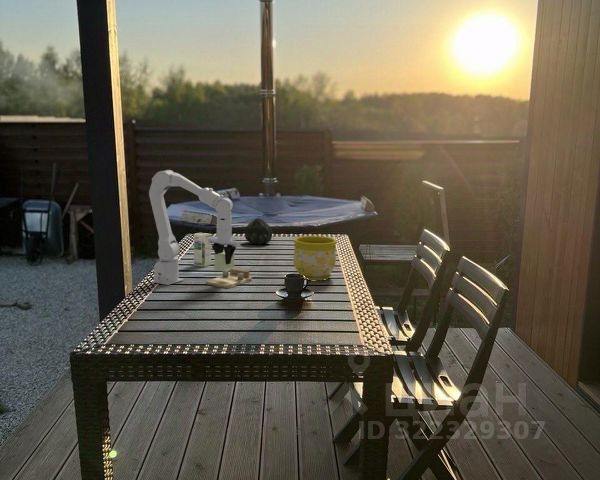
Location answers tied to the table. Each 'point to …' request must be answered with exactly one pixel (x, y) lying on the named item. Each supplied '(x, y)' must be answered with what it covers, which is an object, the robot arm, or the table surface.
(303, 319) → the table surface
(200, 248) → the printed cardboard box
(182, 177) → the robot arm
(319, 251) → the flowerpot
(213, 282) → the board
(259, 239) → the squash
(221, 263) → the block
